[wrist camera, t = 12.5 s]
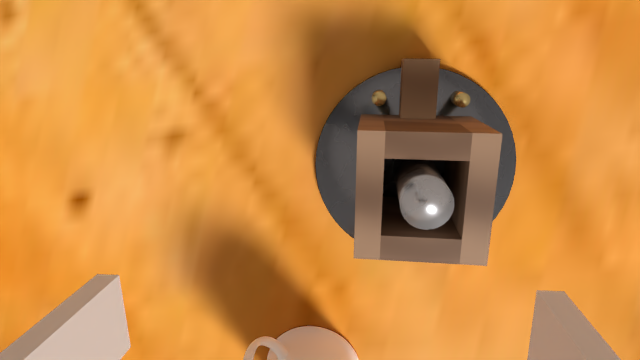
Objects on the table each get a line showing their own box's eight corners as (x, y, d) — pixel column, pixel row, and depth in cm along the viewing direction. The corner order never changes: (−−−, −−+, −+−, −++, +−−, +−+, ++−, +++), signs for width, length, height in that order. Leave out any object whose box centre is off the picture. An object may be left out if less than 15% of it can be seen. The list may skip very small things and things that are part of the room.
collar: (461, 219, 34) (487, 265, 26) (358, 214, 35) (353, 258, 27) (476, 59, 30) (511, 58, 23) (362, 58, 31) (359, 57, 24)
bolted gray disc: (501, 260, 35) (547, 330, 26) (315, 250, 36) (296, 312, 27) (526, 67, 31) (591, 69, 22) (316, 65, 32) (295, 66, 23)
